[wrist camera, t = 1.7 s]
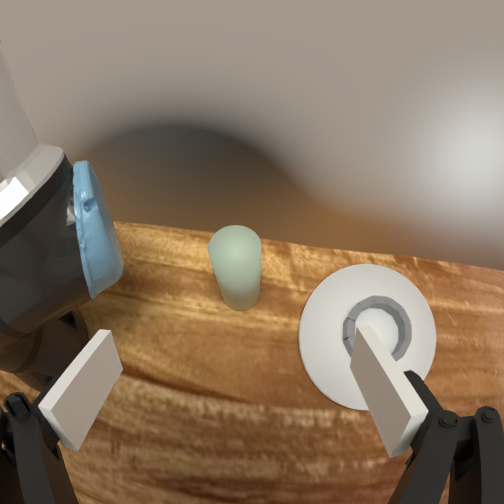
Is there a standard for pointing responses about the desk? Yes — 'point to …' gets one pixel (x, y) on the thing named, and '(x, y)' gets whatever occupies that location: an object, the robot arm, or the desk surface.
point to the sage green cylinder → (237, 265)
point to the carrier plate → (360, 314)
